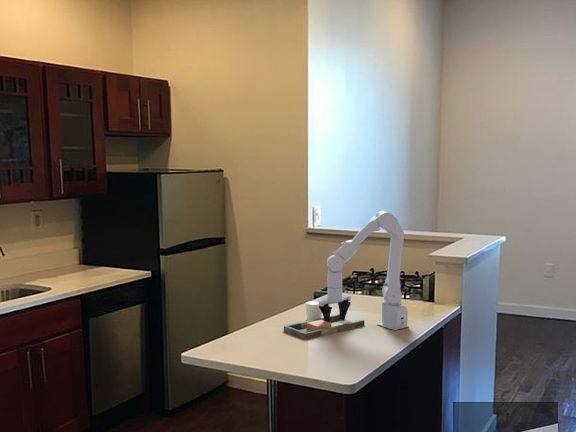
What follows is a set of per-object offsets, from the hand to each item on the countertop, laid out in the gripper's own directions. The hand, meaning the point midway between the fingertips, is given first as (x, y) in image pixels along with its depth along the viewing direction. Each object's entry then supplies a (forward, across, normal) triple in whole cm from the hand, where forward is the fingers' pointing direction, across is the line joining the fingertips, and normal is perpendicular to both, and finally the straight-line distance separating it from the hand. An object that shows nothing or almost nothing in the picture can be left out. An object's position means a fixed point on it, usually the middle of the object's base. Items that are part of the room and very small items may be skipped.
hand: (334, 321), depth 233 cm
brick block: (+2, +8, 0) cm, 8 cm away
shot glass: (+2, 0, -12) cm, 12 cm away
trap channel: (+2, +5, 0) cm, 5 cm away
